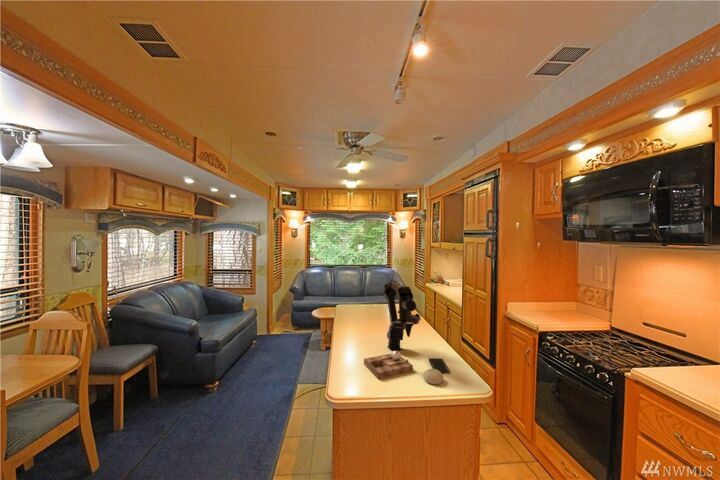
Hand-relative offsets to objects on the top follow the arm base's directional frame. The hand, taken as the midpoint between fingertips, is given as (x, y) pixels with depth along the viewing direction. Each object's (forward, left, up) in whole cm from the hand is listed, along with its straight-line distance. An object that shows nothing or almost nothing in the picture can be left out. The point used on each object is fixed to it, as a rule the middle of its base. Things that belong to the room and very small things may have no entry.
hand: (405, 338), depth 148 cm
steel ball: (+7, +2, -7) cm, 11 cm away
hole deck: (+12, +2, -13) cm, 18 cm away
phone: (-14, +11, -13) cm, 22 cm away
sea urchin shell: (-2, +21, -13) cm, 25 cm away
